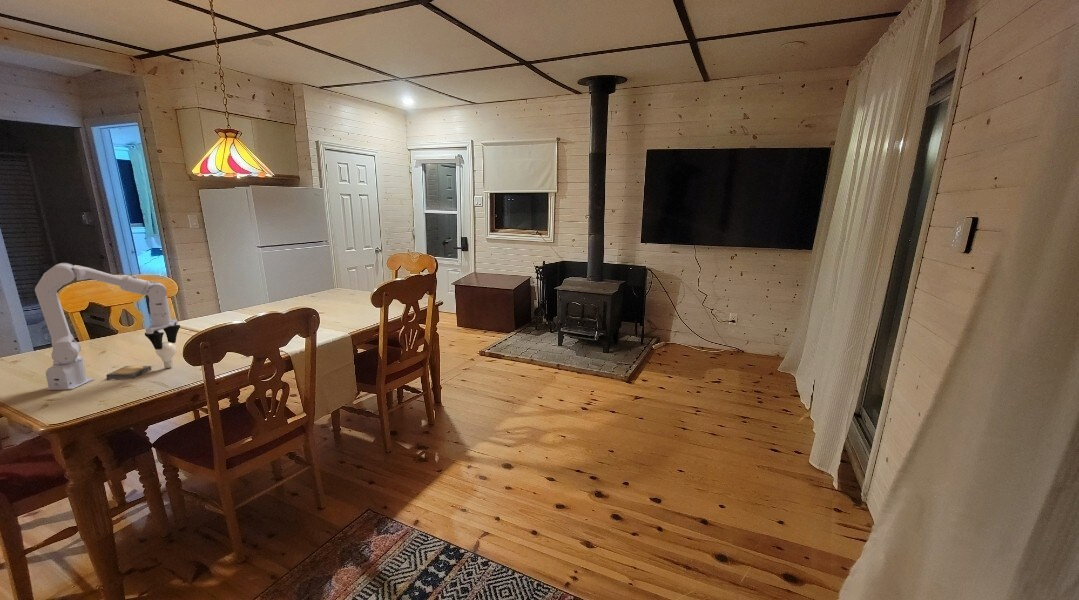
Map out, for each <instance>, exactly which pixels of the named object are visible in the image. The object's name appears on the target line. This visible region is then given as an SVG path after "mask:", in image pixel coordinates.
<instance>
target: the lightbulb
mask: <svg viewBox="0 0 1079 600" xmlns="http://www.w3.org/2000/svg"><path fill="white" fill-rule="evenodd" d="M154 352H155V353H156V355H157V356H158V357H159V358H160V359H161V361H162V363H163V368H165V369H171V368H173V366H174V364H173V363H174V362H173V360H174V356H175V354H176V353H177V346H176V345H175V343H171V342H168V341H162V349H155V351H154Z"/></svg>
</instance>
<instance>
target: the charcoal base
mask: <svg viewBox="0 0 1079 600" xmlns="http://www.w3.org/2000/svg"><path fill="white" fill-rule="evenodd" d="M150 371H152V365H125V366H123V367H120V368H119V369H116V370H114V371H111V372H109V373H107V374H106V375H105V376H106V379H107V380H130V379H131V380H135V379H136V378H139V377H140V376H142V375H145V374H147V373H149V372H150Z"/></svg>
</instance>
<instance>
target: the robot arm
mask: <svg viewBox="0 0 1079 600" xmlns="http://www.w3.org/2000/svg"><path fill="white" fill-rule="evenodd" d="M75 278H76V281H85V280H93V281H97V282H101V283H107V284H110V285H115V286H118V287H119V288H120V289H121V290H122V291H124V292H125V291H126V292H129V293H133V294H136V295H137V294H138V295H141V296H147V297H148V299H149V302H148V304H149V305H148V306H149V313H150V318H151V325H150V326H148V327H147V328H145V332H144V336H145V337H146V338H147V339H148V340H149V341H150V342H151V344H152V346H153V348H154V349H155V350H156V349H162V343H163V337H164V334H165V336H166V339H167V342H171V343H173V344H175V343H176V341H177V337H178V332H179V330H180V328H181V325H180V324H179V322H178V319H176V318H175V319H174V318H173V319H172V318H171V310H170V304H169V300H168V296H167V295H168V290H167V287H166V286H165V284H162V283H160V282H159V281H155V282H154V280H152V279H151V280H146V279H141V278H140V277H139V278H138V276H137V275H132V276H131V275H127V276H123V277H122V276H118V275H115V274H112V273H107V272H105V271H101V270H98V269H95V268H92V267H87V266H82V265H78V264H77V265H76V264H74V265H73V264H72V263H69V262H61V263H57V264H55V265H54V266H52V267H51V268H50V269H48V270H46V272H44V273H43V275H42V276H41V278H40V279H39V281H38V282H37V284H36V286H35V287H34V292H35V296H36V298H37V300H38V305H39V307H40V309H41V313H42V315H43V318H44V321H45V324H46V327H47V330H48V332H49V336H50V338H51V339H50V340H51V347H52V352H51V355H50V356H51V357H50V358H51V359H52V360H53V361H52V365H51V366H50V367H49V368H47V370H46V371H45V377H46V381H47V388H45V390H46V391H51V390H52V391H57V390H58V391H59V390H60V391H61V390H73V389H76V388H78V387H80V386H82V385H85V384H86V383H89V382H91V381H94V380H95V378H94V377H87V374H86V368H85V363H84V358H83V356H82V355H80V354H79V353H80V351H81V348H82V347H81V344H80V343H78V341H76V339H75V338H74V336H73V334H72V333H71V331H70V326H69V324H68V320H67V318H66V316H65V312H64V309H63V306H62V303H61V300H60V298H59V295H58V291H59V290H60V289H61V288H62V287H63V286H65V285H67V284H68V283H71V282H72V281H74V279H75ZM161 330H163V331H164V332H160V331H161Z"/></svg>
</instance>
